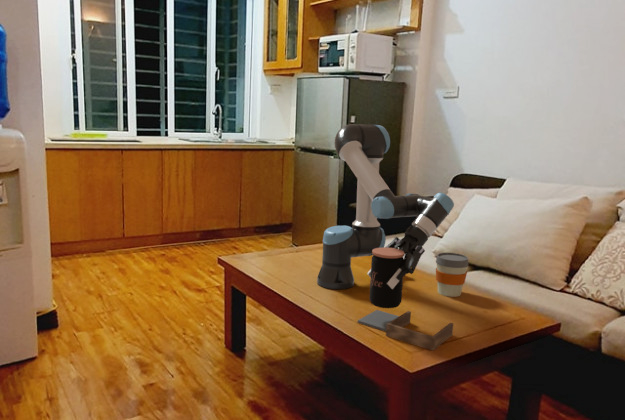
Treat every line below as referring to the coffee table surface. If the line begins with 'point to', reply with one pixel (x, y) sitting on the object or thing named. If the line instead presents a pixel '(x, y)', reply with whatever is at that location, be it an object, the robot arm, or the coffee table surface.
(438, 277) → the reusable coffee cup
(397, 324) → the walnut holder
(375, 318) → the charcoal mat
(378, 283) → the coffee jar
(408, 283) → the coffee table surface
